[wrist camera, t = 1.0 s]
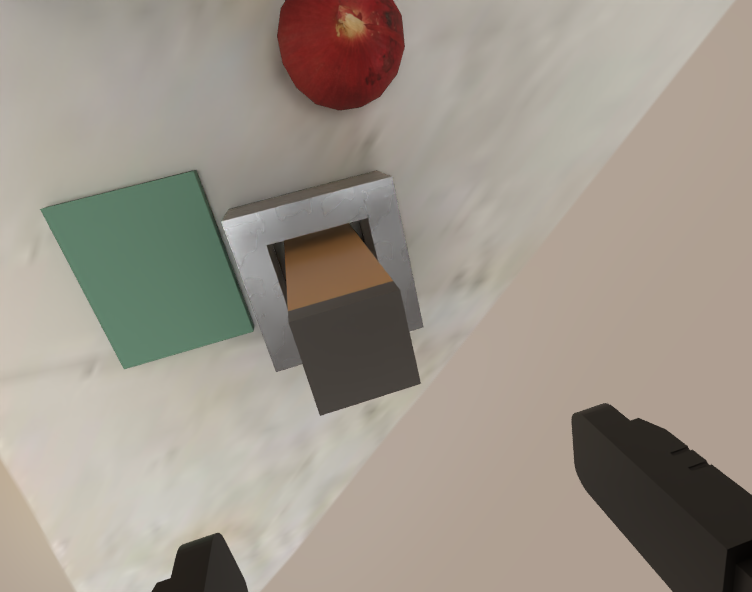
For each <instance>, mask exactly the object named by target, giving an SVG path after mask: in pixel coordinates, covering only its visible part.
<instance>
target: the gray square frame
mask: <svg viewBox="0 0 752 592" xmlns="http://www.w3.org/2000/svg"><path fill="white" fill-rule="evenodd" d="M358 220H359V221H360V225H361V230H362V234H363V238H364V242H365V245H366V246H367V248H368V249H369V250H370V251H371V253H372V254H373V255H374V257H375V258H376V259H377V260H378V262H379V263H380V264H381V266H382V267H383V268H384V270H385V271H386V272H387V273H388V275H389V276H390V277H391V279H392V280H393V281H394V282H395V284H396V285H397V286H398V288H399V289H400V292H401V296H402V301H403V305H404V310H405V314H406V319H407V323H408V328H409V331H413V330H416V329H419V328H422V327H423V323H422V318H421V313H420V308H419V303H418V298H417V294H416V289H415V284H414V279H413V274H412V269H411V264H410V260H409V255H408V250H407V245H406V240H405V235H404V230H403V226H402V221H401V216H400V211H399V206H398V201H397V196H396V192H395V187H394V182H393V177H392V176H390V175H387V174H385V173H382V172H379V171H373V172H369V173H365V174H361V175H357V176H354V177H350V178H346V179H342V180H338V181H334V182H331V183H327V184H323V185H319V186H315V187H311V188H308V189H304V190H300V191H296V192H292V193H288V194H285V195H281V196H277V197H273V198H269V199H265V200H262V201H258V202H254V203H250V204H246V205H242V206H239V207H235V208H231V209H229V210H228V212H227V213H226V215H225V216H224V218H223V219H222V221H221V223H222V226H223V229H224V231H225V234H226V237H227V240H228V242H229V245H230V248H231V250H232V253H233V256H234V259H235V261H236V264H237V267H238V269H239V272H240V275H241V278H242V280H243V283H244V286H245V289H246V291H247V294H248V297H249V299H250V302H251V305H252V308H253V310H254V313H255V316H256V318H257V321H258V324H259V327H260V329H261V332H262V335H263V338H264V340H265V343H266V346H267V348H268V351H269V354H270V357H271V359H272V362H273V365H274V367H275V370H276V372H278V371H281V370H284V369H288V368H291V367H294V366H298V365H301V364H302V361H301V358H300V355H299V352H298V349H297V346H296V343H295V340H294V337H293V334H292V331H291V328H290V325H289V322H288V304H287V286H286V283H285V280H284V277H283V274H282V271H281V268H280V265H279V262H278V259H277V256H276V252H275V249H274V246H273V243H277V242H281V241H284V240H288V239H292V238H295V237H299V236H303V235H306V234H310V233H314V232H317V231H321V230H325V229H328V228H332V227H336V226H339V225H343V224H347V223H350V222H354V221H358Z"/></svg>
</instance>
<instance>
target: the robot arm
mask: <svg viewBox="0 0 752 592" xmlns="http://www.w3.org/2000/svg"><path fill="white" fill-rule="evenodd" d="M572 434H573V450H574V464H575V469H576V472H577V475H578V477H579V479H580V481H581V483H582V485H583V487H584V488H585V490H586V491H587V492H588V494H589V495H590V496H591V497H592V498H593V500H594V501H595V502H596V503H597V504H598V505H599V506H600V508H601V509H602V510H603V511H604V512H605V513H606V515H607V516H608V517H609V518H610V519H611V520H612V521H613V523H614V524H615V525H616V526H617V527H618V529H619V530H620V531H621V532H622V533H623V534H624V535H625V537H626V538H627V539H628V540H629V541H630V542H631V544H632V545H633V546H634V547H635V548H636V549H637V551H638V552H639V553H640V554H641V555H642V556H643V558H644V559H645V560H646V561H647V562H648V563H649V565H650V566H651V567H652V568H653V569H654V570H655V572H656V573H657V574H658V575H659V576H660V577H661V578H662V580H663V581H664V582H665V583H666V584H667V585H668V587H669V588H670V589H671V590H672V591H673V592H752V495H751V494H750V493H748V492H747V491H746V490H744V489H743V488H742V487H741V486H739V485H738V484H737V483H735V482H734V481H733V480H731V479H730V478H729V477H727V476H726V475H725V474H723V473H722V472H721V471H720V470H718V469H717V468H716V467H714V466H713V465H709V464H708V463H707V461H706V460H705V459H704V458H703V457H701V456H700V455H699V454H697V453H696V452H695V451H693V450H689V448H688V446H687V445H685V444H684V443H683V442H681V441H680V440H679V439H678V438H676V437H675V436H674V435H672V434H671V433H670V432H668V431H667V430H666V429H664V428H661V427H659V426H656V425H654V424H652V423H649V422H647V421H645V420H642V419H640V418H637V419H634V420H631V421H630V420H629V419H628V418H626V417H625V416H624V415H623V414H621V413H620V412H619V411H618V410H617V409H615V408H614V407H613V406H611V405H609V404H606V403H603V404H600V405H597V406H594V407H592V408H589V409H586V410H583V411H580V412H577V413H574V414H573V416H572ZM152 592H248V589H247V585H246V582H245V579H244V577H243V575H242V573H241V571H240V569H239V567H238V565H237V563H236V561H235V559H234V557H233V555H232V553H231V551H230V549H229V547H228V545H227V543H226V541H225V540H224V538H223V536H222V535H221V534H220V533H215V534H212V535H209V536H206V537H203V538H200V539H197V540H194V541H192V542H189V543H186V544H183V545H181V546H180V547H179V549H178V551H177V554H176V558H175V562H174V566H173V571H172V575H171V578H170V579H167V580H164V581H161V582H158V583H157V584H156V585H155V587H154V589H153V590H152Z"/></svg>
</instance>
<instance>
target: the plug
mask: <svg viewBox="0 0 752 592" xmlns="http://www.w3.org/2000/svg"><path fill="white" fill-rule="evenodd" d="M284 248H285V267H286V285H287V304H288V322H289V325H290V328H291V331H292V334H293V337H294V340H295V343H296V346H297V349H298V352H299V355H300V358H301V361H302V364H303V367H304V370H305V373H306V376H307V379H308V382H309V385H310V387H311V390H312V393H313V396H314V399H315V402H316V405H317V408H318V411H319V414H320V416H321V415H324V414H327V413H330V412H334V411H337V410H340V409H343V408H346V407H349V406H352V405H355V404H359V403H362V402H365V401H368V400H371V399H374V398H377V397H381V396H384V395H387V394H390V393H393V392H396V391H399V390H403V389H406V388H409V387H412V386H415V385H418V384H421V382H420V378H419V373H418V369H417V364H416V360H415V355H414V351H413V346H412V341H411V337H410V332H409V328H408V323H407V319H406V314H405V310H404V305H403V301H402V296H401V292H400V289H399V288H398V286H397V285H396V284H395V282H394V281H393V280H392V279H391V277H390V276H389V275H388V273H387V272H386V271H385V270H384V268H383V267H382V266H381V264H380V263H379V262H378V260H377V259H376V258H375V257H374V255H373V254H372V253H371V251H370V250H369V249H368V248H367V246H366V245H365V244H364V242H363V241H362V240H361V239H360V237H359V236H358V235H357V233H356V232H355V231H354V229H353V228H352V227H351V226H350V224H349V223H347V224H343V225H339V226H336V227H332V228H328V229H325V230H321V231H317V232H314V233H310V234H306V235H303V236H299V237H295V238H292V239H288V240H284Z"/></svg>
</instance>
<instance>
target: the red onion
mask: <svg viewBox="0 0 752 592" xmlns="http://www.w3.org/2000/svg"><path fill="white" fill-rule="evenodd" d="M277 38H278V43H279V48H280V53H281V58H282V63H283V65H284V67H285V68H286V70H287V72H288V74H289V76H290V77H291V79H292V81H293V83H294V84H295V86H296V88H298V89H299V90H300V91H301V92H302V93H303V94H305V95H306V96H307V97H308V98H309V99H311V100H312V101H313V102H314V103H315V104H317V105H321V106H325V107H328V108H332V109H336V110H345V109H352V108H359V107H362V106H364V105H366V104H368V103H369V102H371V101H373V100H375V99H377V98H378V97H380V96H381V95H382V93H383V92H384V91H385V89H386V88H387V87H388V86H389V84H390V83H391V82H392V80H393V79H394V78H395V76H396V75H397V73H398V69H399V66H400V62H401V58H402V55H403V51H404V47H405V45H404V34H403V24H402V16H401V13H400V11H399V10H398V8H397V6H396V5H395V3H394V1H393V0H285V2H284V4H283V6H282V7H281V10H280V18H279V26H278V34H277Z"/></svg>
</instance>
